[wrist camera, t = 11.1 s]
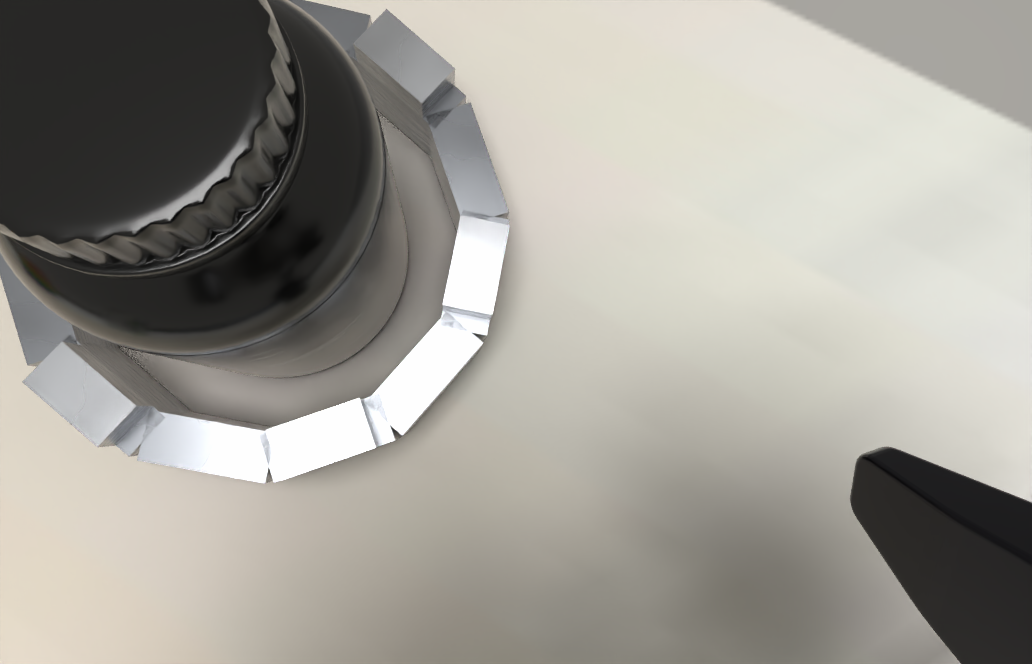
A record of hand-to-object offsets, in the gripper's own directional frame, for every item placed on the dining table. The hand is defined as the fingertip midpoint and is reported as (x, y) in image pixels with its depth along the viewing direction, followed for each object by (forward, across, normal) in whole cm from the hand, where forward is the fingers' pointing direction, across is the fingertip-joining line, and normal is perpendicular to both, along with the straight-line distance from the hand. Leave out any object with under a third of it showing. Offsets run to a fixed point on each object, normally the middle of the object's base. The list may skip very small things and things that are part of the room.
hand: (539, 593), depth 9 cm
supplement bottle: (+15, +2, +2) cm, 15 cm away
